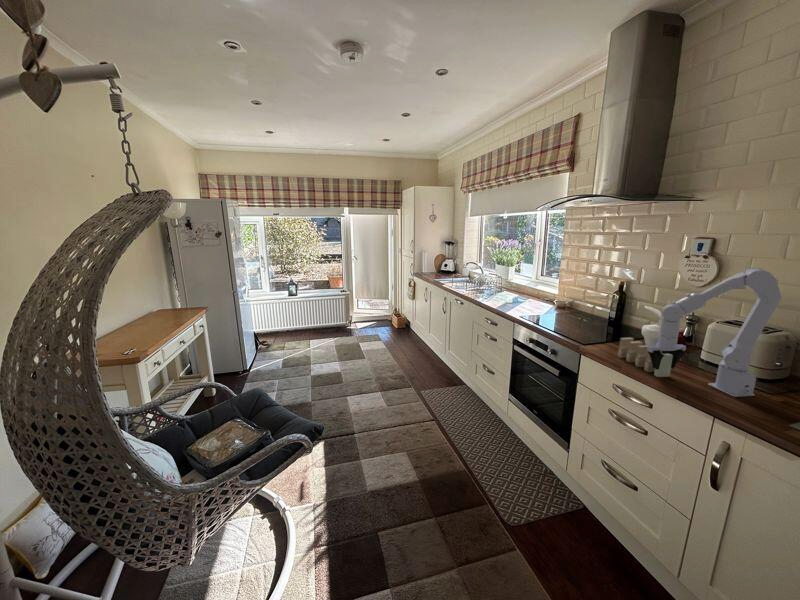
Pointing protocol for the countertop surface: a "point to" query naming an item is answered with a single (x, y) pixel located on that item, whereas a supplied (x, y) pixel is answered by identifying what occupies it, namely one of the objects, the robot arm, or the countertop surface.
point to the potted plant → (653, 327)
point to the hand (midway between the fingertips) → (663, 367)
